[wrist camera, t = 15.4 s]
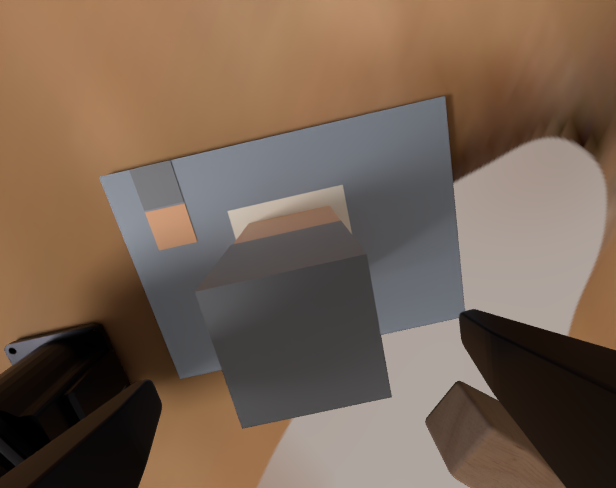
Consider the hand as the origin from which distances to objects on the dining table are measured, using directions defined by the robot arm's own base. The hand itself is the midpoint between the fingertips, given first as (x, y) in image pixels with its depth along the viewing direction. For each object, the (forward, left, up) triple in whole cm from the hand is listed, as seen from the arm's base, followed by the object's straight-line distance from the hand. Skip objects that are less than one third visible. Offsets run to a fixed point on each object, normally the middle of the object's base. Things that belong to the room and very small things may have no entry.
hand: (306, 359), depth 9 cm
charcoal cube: (0, 0, -6) cm, 6 cm away
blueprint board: (0, 0, -11) cm, 11 cm away
